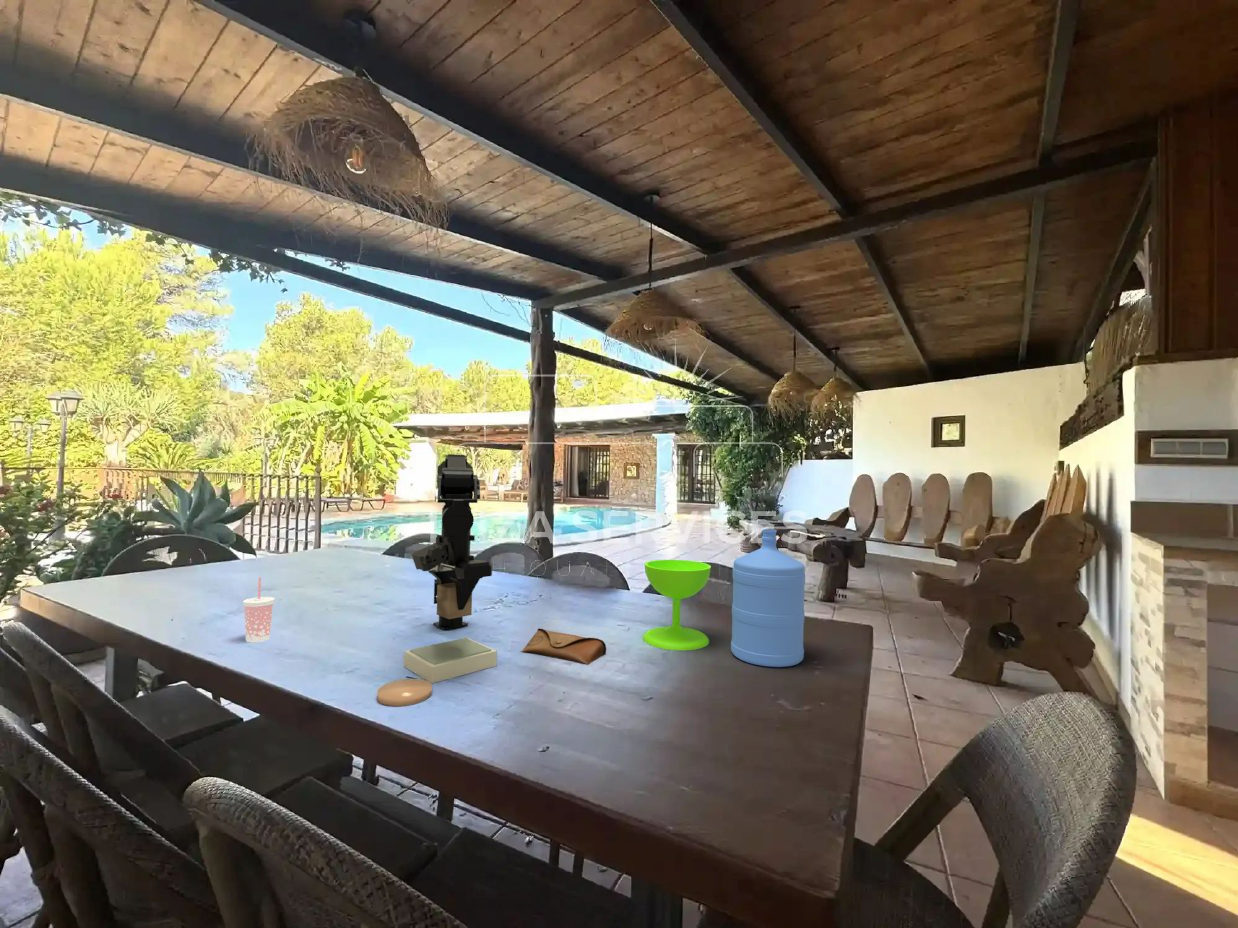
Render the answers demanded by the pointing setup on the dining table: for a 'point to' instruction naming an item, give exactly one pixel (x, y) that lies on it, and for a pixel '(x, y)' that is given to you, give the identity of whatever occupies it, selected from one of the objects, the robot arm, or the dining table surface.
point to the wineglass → (676, 601)
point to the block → (450, 602)
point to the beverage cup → (258, 617)
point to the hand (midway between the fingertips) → (454, 607)
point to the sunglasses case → (565, 646)
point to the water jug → (768, 606)
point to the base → (449, 659)
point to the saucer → (404, 692)
